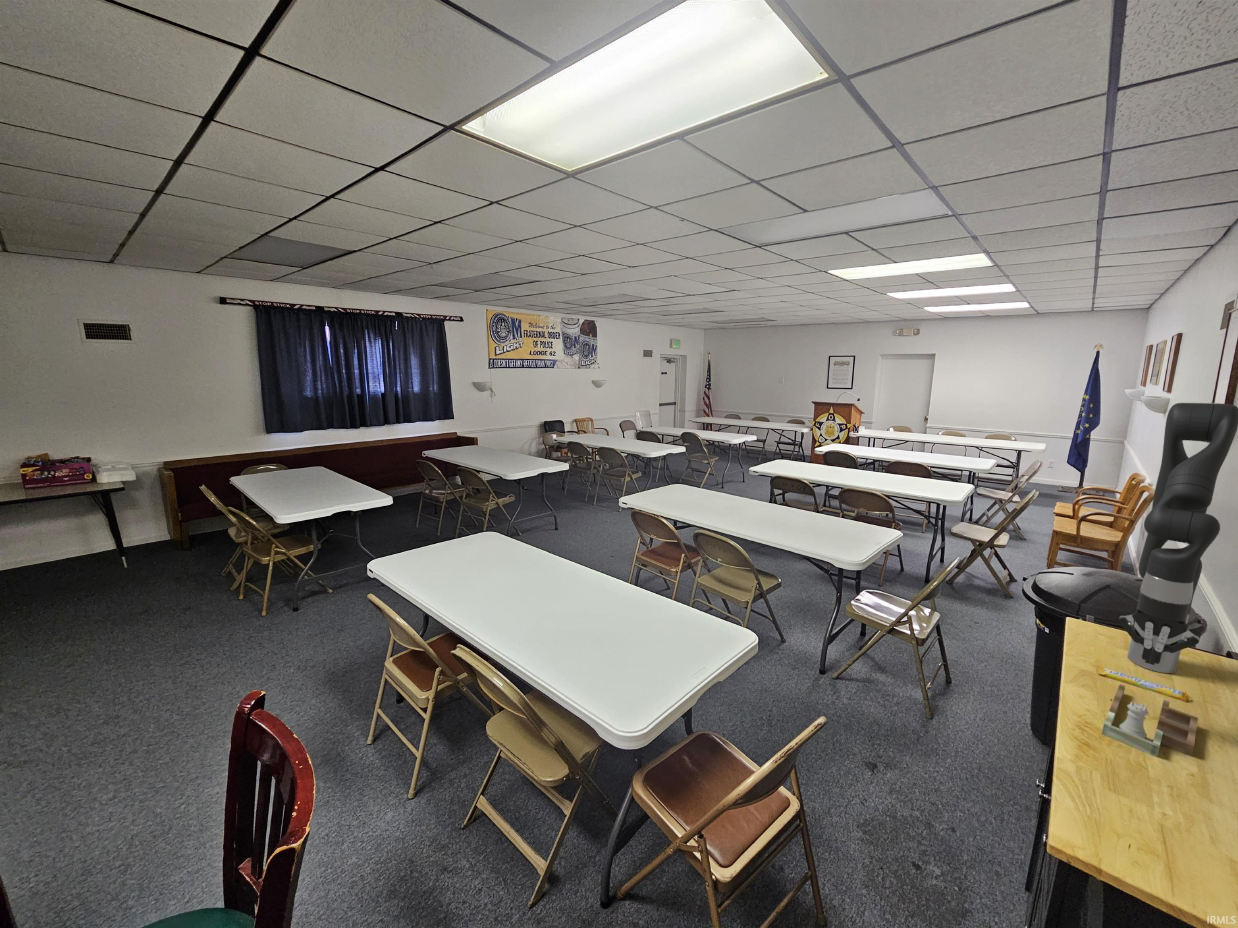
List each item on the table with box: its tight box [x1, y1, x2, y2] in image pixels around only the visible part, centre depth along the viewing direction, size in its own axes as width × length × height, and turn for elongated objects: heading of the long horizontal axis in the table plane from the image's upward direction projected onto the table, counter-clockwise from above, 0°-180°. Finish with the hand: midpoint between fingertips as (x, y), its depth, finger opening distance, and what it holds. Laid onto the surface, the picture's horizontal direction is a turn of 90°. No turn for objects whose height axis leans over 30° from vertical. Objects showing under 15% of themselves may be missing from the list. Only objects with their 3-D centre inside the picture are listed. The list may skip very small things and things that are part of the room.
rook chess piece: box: [1118, 701, 1149, 740], centre depth 107 cm, size 4×4×8 cm
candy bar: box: [1095, 665, 1191, 702], centre depth 125 cm, size 17×4×2 cm, turn 45°
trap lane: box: [1101, 684, 1199, 758], centre depth 110 cm, size 23×13×2 cm, turn 128°
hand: (1149, 662), depth 111 cm, fingers closed
